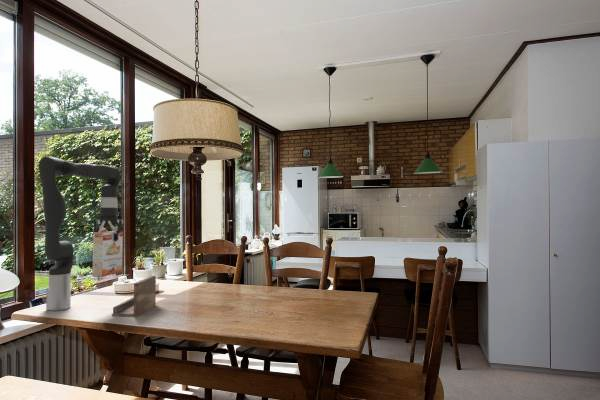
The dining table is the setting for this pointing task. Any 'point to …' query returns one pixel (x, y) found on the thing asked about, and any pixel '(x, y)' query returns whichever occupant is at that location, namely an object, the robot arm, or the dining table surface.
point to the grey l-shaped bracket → (138, 299)
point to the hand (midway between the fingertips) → (108, 241)
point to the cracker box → (107, 254)
